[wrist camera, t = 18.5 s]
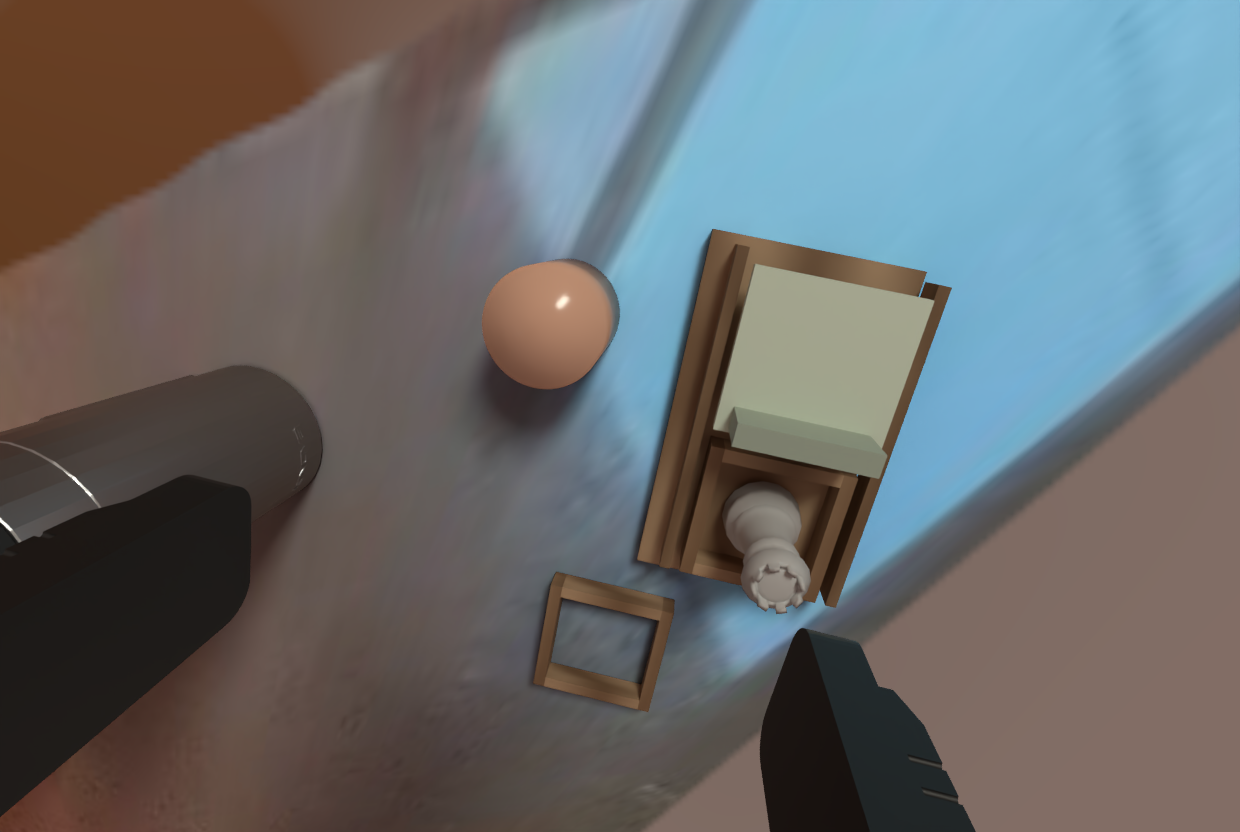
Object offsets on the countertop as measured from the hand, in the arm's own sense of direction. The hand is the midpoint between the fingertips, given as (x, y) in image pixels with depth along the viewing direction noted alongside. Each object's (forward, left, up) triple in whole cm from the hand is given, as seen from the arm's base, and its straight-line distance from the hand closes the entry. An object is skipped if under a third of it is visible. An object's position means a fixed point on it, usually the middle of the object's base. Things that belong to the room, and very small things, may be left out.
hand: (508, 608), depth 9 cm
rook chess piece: (+9, -9, -26) cm, 29 cm away
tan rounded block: (-5, 0, -27) cm, 27 cm away
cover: (+9, 0, -23) cm, 25 cm away
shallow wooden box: (+8, -4, -27) cm, 28 cm away
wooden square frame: (+1, -21, -27) cm, 34 cm away
